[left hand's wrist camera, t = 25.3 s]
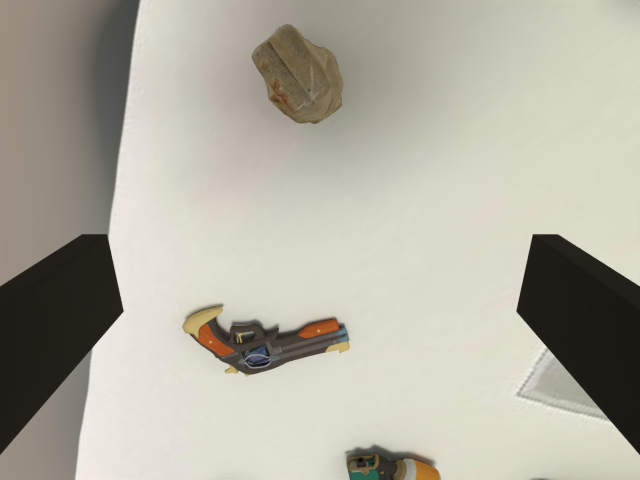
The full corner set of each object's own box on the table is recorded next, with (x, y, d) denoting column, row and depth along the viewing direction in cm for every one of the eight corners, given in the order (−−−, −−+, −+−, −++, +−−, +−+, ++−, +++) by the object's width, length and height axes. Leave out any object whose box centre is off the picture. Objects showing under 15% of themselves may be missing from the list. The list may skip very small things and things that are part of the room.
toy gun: (176, 323, 46) (205, 394, 49) (331, 280, 46) (353, 354, 48) (183, 313, 49) (210, 381, 51) (330, 272, 48) (350, 342, 51)
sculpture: (312, 29, 37) (308, -3, 23) (351, 98, 39) (368, 106, 25) (262, 66, 38) (229, 55, 24) (302, 130, 40) (293, 155, 26)
